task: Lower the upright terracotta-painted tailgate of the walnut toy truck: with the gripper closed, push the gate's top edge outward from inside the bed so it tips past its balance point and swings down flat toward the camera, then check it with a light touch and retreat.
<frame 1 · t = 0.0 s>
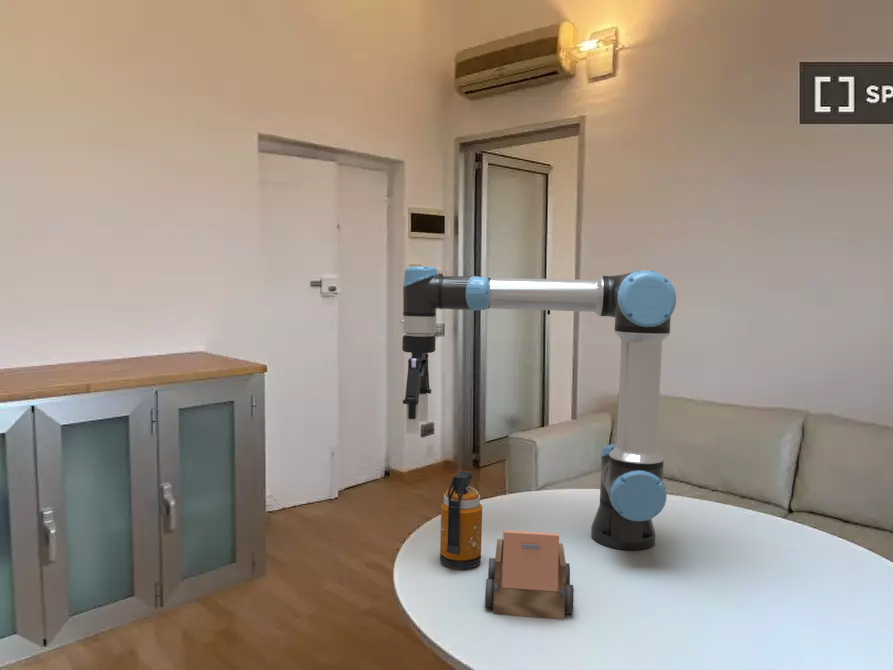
hand: (417, 427, 155), 28 cm above the table, fingers open, 13 cm apart
canister: (458, 565, 147), on the table
tailgate: (530, 561, 123), point 11 cm above the table, hinge at 0.0°
truck: (528, 616, 124), on the table
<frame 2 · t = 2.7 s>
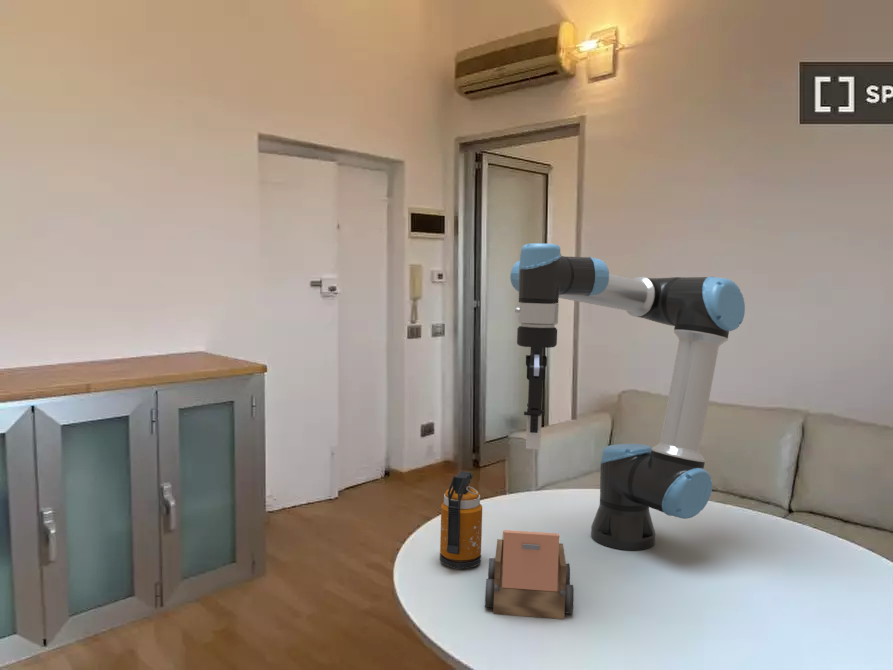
hand: (533, 448, 130), 30 cm above the table, fingers closed
nothing on the table moved.
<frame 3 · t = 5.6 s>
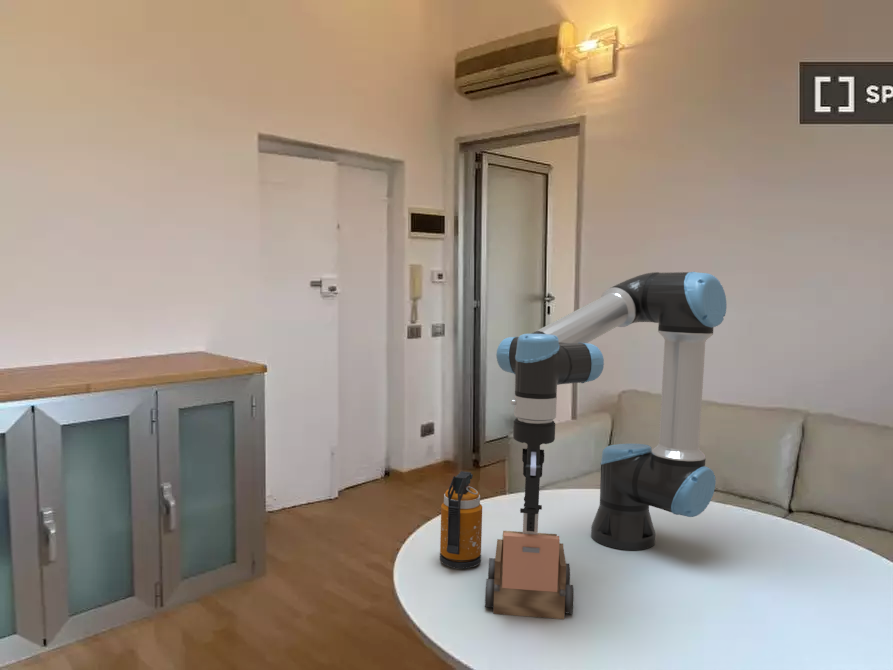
hand: (529, 545, 124), 13 cm above the table, fingers closed
tailgate: (530, 562, 123), point 11 cm above the table, hinge at 7.0°, touching gripper
everything else where it was.
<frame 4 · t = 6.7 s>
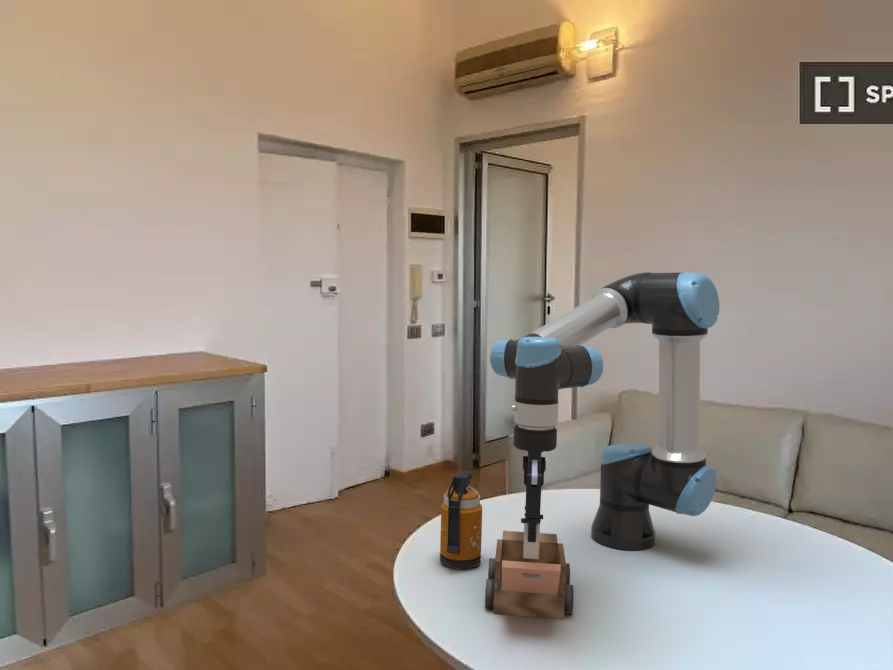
hand: (530, 556, 119), 13 cm above the table, fingers closed
tailgate: (530, 579, 120), point 9 cm above the table, hinge at 44.1°
everything else where it was.
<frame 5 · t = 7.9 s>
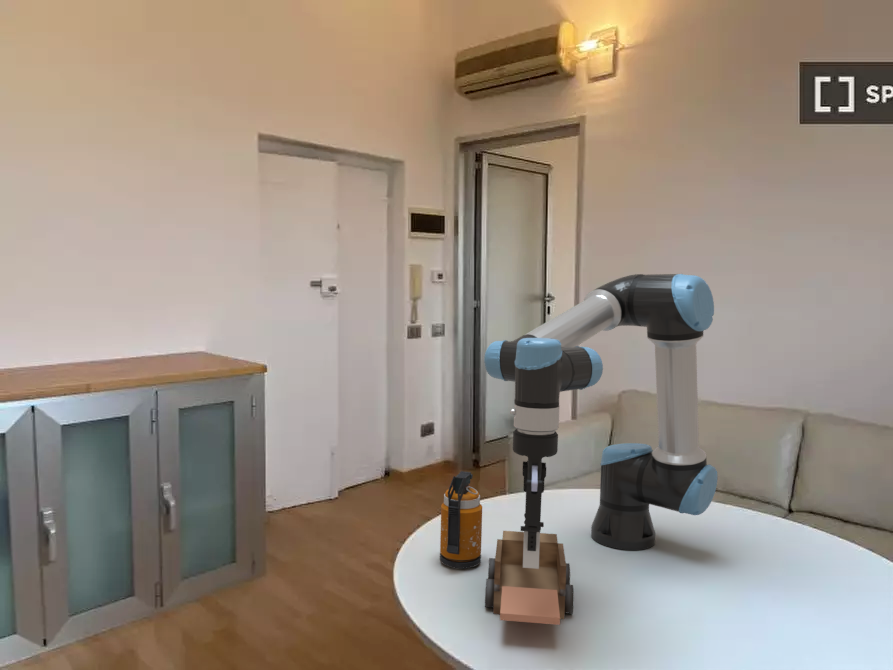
hand: (530, 566, 115), 13 cm above the table, fingers closed
tailgate: (529, 605, 118), point 5 cm above the table, hinge at 90.2°
everything else where it was.
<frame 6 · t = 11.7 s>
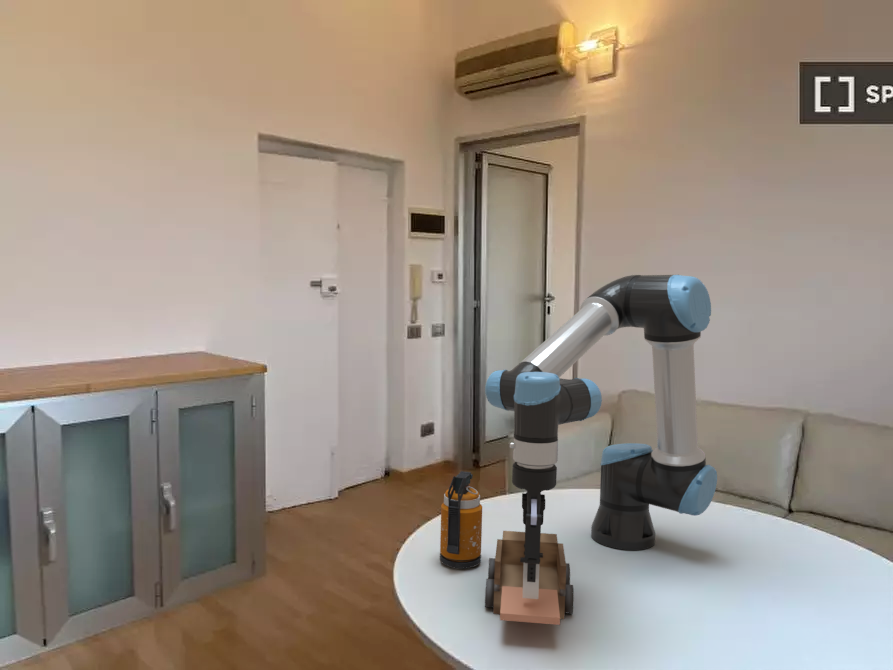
hand: (530, 596, 117), 7 cm above the table, fingers closed
nothing on the table moved.
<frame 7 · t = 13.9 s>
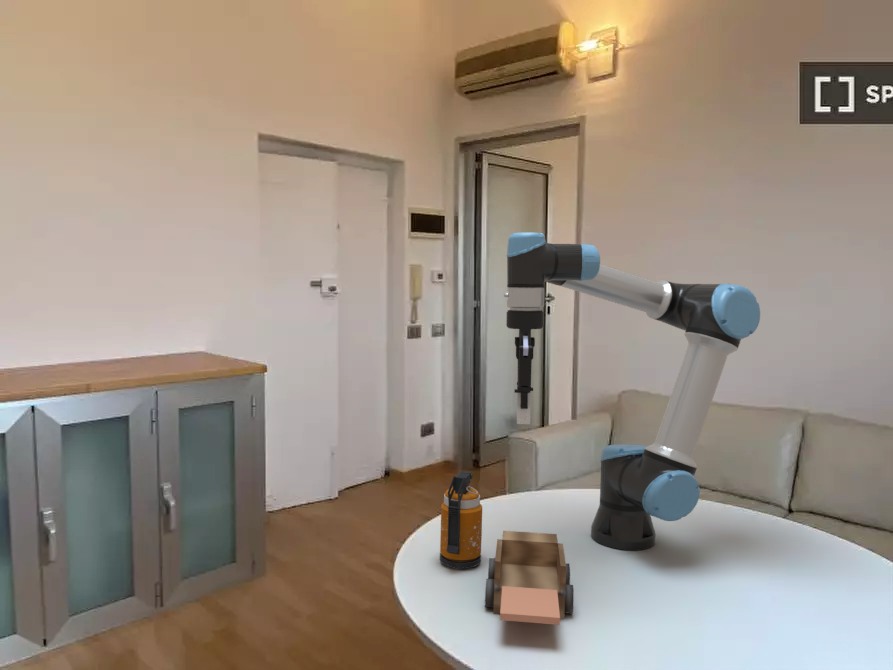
hand: (523, 423, 139), 33 cm above the table, fingers closed
nothing on the table moved.
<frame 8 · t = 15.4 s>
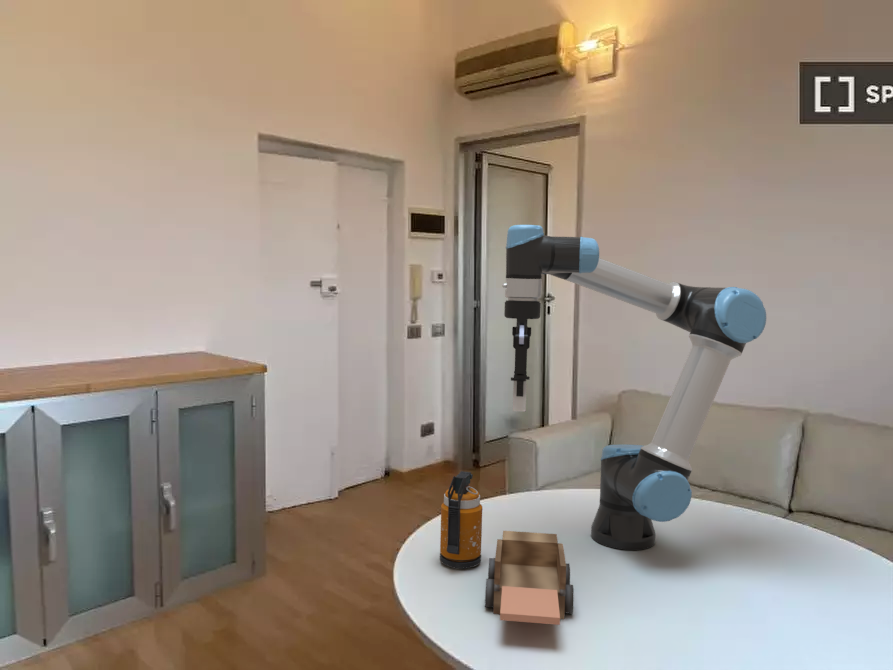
hand: (519, 410, 143), 34 cm above the table, fingers closed
nothing on the table moved.
at the end: tailgate at +90° (first picture: +0°) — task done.
